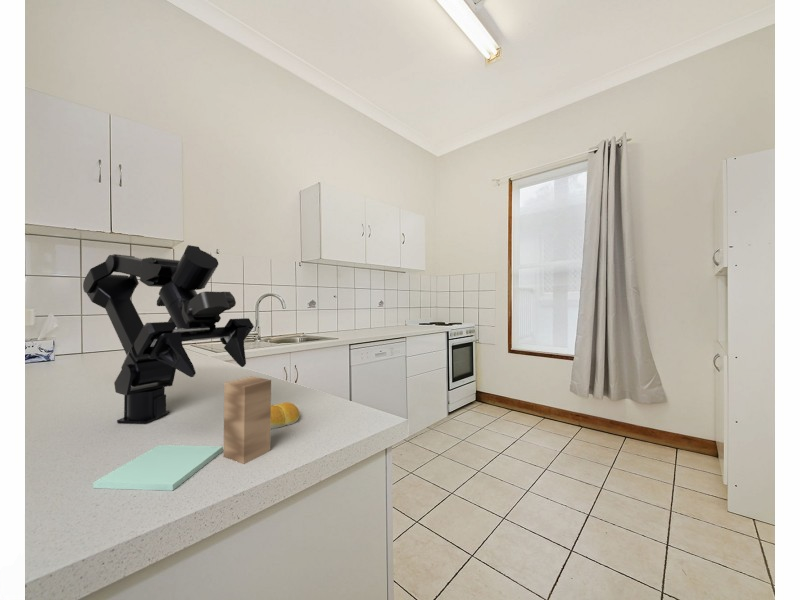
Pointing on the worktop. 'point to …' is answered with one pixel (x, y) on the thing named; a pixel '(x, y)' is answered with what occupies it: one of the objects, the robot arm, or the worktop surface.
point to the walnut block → (247, 418)
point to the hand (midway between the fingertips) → (220, 370)
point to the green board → (159, 468)
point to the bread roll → (283, 414)
